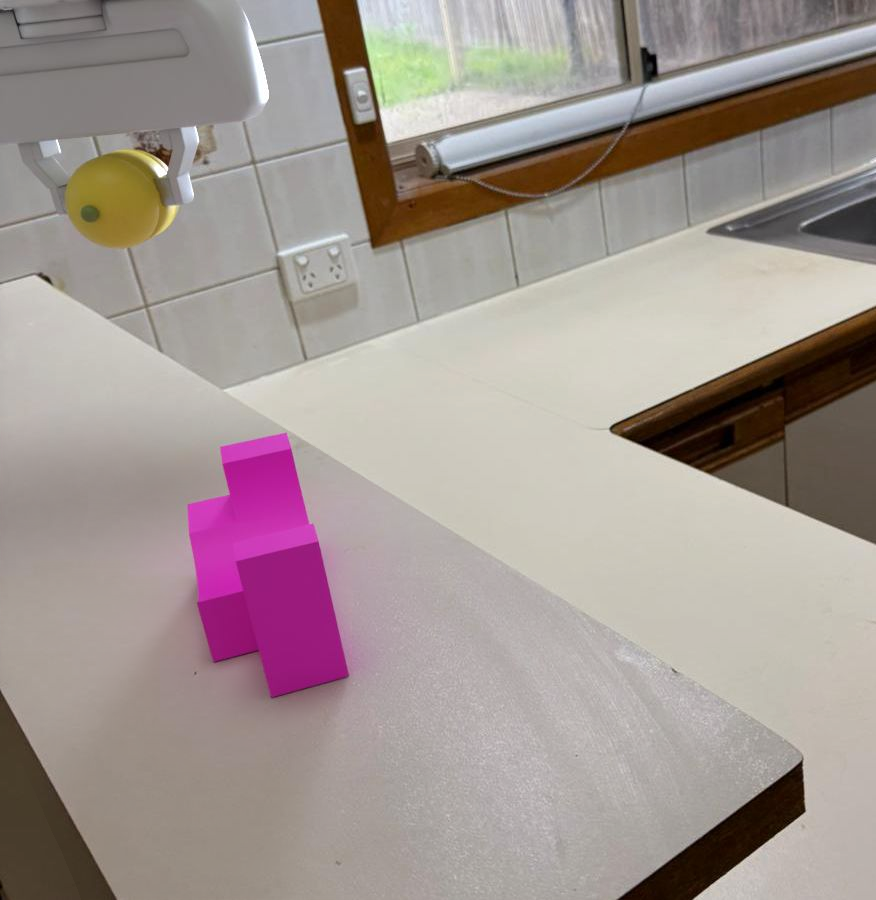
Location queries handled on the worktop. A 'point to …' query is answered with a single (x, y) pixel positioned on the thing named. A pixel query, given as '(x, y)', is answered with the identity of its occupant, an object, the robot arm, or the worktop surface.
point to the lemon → (118, 199)
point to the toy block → (265, 570)
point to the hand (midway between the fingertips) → (127, 208)
